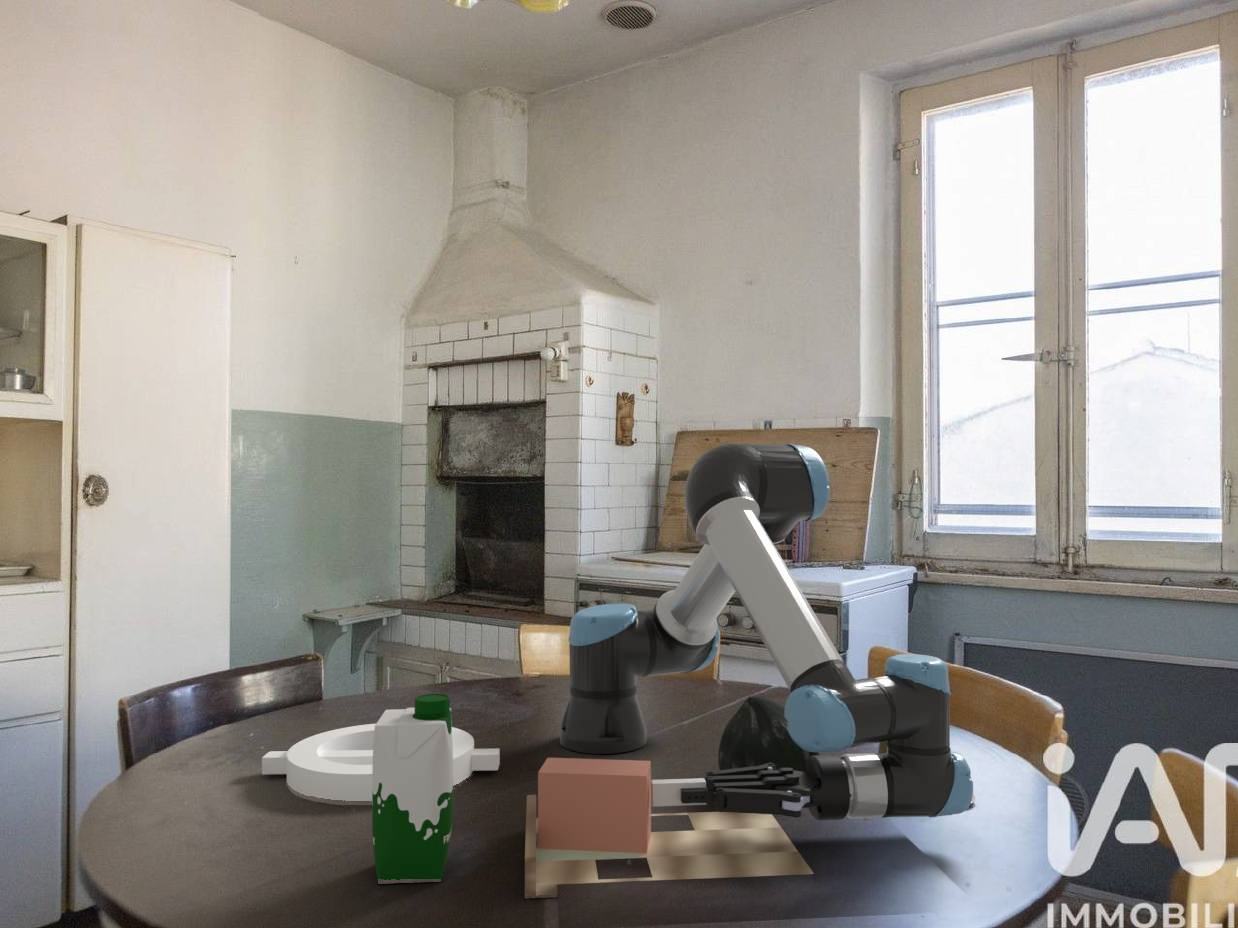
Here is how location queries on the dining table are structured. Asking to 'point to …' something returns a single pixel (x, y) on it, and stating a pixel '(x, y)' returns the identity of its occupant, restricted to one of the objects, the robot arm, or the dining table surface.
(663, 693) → the dining table surface
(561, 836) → the brick
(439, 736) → the milk carton
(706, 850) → the board
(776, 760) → the squash
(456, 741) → the ring with crossbar
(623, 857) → the pad
